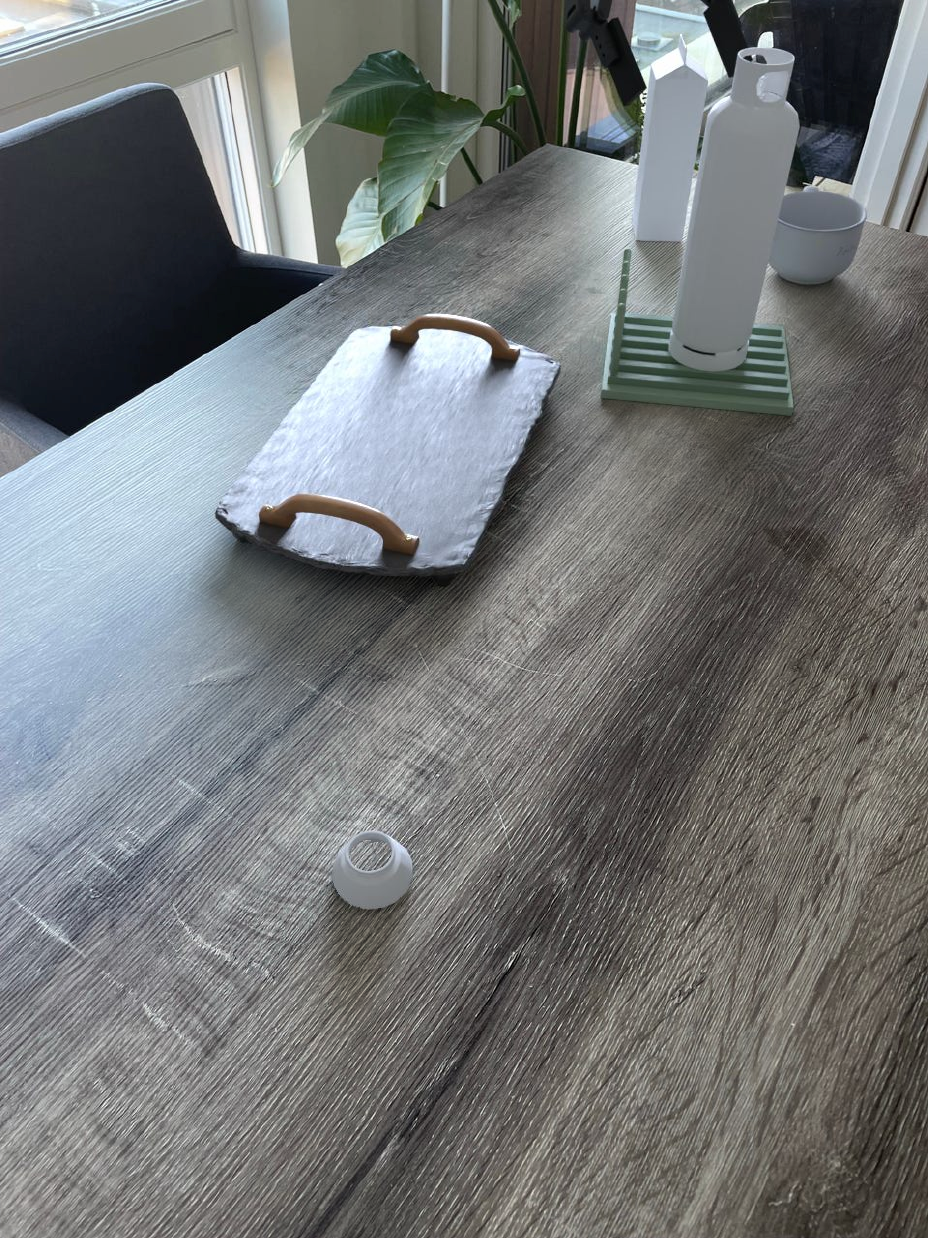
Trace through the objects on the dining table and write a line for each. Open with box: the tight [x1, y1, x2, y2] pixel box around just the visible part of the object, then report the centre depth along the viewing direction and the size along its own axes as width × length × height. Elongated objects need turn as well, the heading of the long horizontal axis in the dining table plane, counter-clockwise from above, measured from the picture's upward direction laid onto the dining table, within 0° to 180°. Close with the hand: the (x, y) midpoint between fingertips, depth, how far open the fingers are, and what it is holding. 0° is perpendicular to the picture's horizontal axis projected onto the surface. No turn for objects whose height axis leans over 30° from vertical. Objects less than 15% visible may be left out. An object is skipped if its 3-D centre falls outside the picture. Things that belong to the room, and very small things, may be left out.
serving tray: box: [214, 313, 562, 588], centre depth 92 cm, size 39×23×6 cm, turn 162°
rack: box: [600, 247, 795, 417], centre depth 103 cm, size 19×16×9 cm
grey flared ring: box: [331, 829, 414, 910], centre depth 62 cm, size 5×3×5 cm
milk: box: [631, 33, 709, 243], centre depth 121 cm, size 6×6×22 cm
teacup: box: [768, 185, 868, 286], centre depth 119 cm, size 14×11×8 cm
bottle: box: [668, 46, 801, 371], centre depth 95 cm, size 8×8×28 cm
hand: (689, 83), depth 92 cm, fingers open, 13 cm apart
